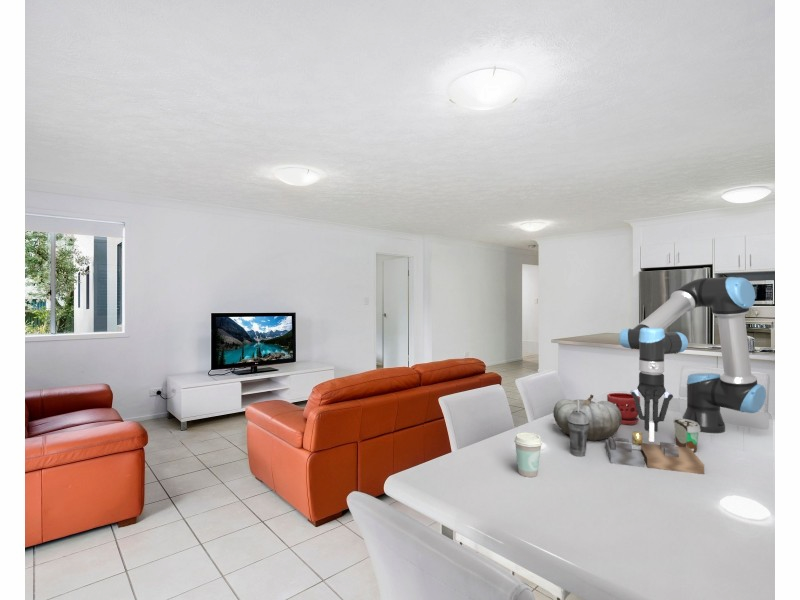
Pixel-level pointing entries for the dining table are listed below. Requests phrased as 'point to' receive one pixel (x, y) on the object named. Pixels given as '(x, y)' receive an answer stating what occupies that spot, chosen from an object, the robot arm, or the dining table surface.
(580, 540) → the dining table surface
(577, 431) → the beverage cup
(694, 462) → the door board
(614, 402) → the plant pot
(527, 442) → the coffee cup
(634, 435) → the bolt
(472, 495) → the dining table surface
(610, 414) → the gourd
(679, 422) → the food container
